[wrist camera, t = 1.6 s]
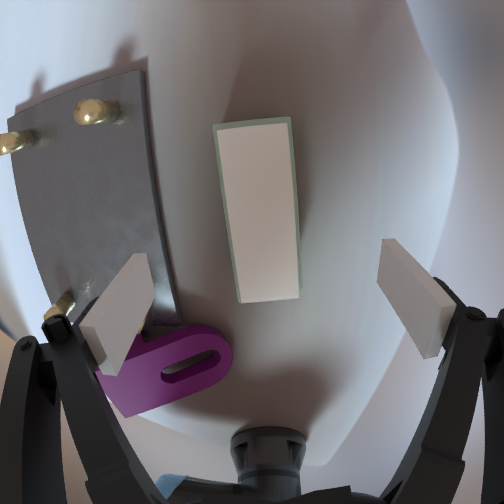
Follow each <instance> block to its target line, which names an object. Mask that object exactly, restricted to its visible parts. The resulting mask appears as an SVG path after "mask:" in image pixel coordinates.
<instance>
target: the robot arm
mask: <svg viewBox="0 0 504 504" xmlns="http://www.w3.org/2000/svg"><path fill="white" fill-rule="evenodd" d="M377 283H378V285H379V286H380V288H381V289H382V291H383V293H384V294H385V296H386V297H387V299H388V300H389V302H390V303H391V305H392V307H393V308H394V310H395V311H396V313H397V315H398V316H399V318H400V320H401V321H402V323H403V324H404V326H405V328H406V329H407V331H408V333H409V334H410V336H411V338H412V340H413V341H414V343H415V345H416V346H417V348H418V350H419V352H420V354H421V355H422V357H423V359H427V358H431V357H435V356H438V354H439V351H440V349H441V346H443V348H444V349H445V350H446V352H445V354H444V357H443V359H442V361H441V363H440V366H439V368H438V370H439V372H438V376H437V379H436V382H435V384H434V387H433V391H432V393H431V396H430V398H429V401H428V404H427V406H426V409H425V411H424V414H423V416H422V419H421V421H420V424H419V426H418V428H417V430H416V432H415V435H414V437H413V439H412V441H411V443H410V446H409V447H408V450H407V452H406V454H405V456H404V458H403V460H402V461H401V464H400V465H399V467H398V469H397V471H396V473H395V475H394V476H393V478H392V480H391V481H390V483H389V484H388V486H387V487H386V488H385V490H384V491H383V493H382V494H381V496H380V497H379V498H378V497H375V496H372V495H368V494H364V493H357V492H351V489H350V486H344V487H338V488H332V489H325V490H317V491H313V492H310V493H307V494H304V495H301V486H300V474H299V473H300V469H301V466H302V462H303V459H304V455H305V451H306V444H305V438H304V437H303V435H302V434H300V433H299V432H297V431H294V430H291V429H287V428H279V427H263V428H255V429H250V430H247V431H244V432H241V433H239V434H237V435H236V436H235V437H233V439H232V440H231V447H230V452H231V456H232V459H233V462H234V465H235V468H236V471H237V474H238V484H234V483H226V482H218V481H210V480H204V479H199V478H194V477H189V476H187V475H185V476H182V475H175V474H169V473H167V474H163V475H162V476H160V477H159V479H158V480H157V482H156V484H154V483H153V481H152V479H151V478H150V477H149V475H148V473H147V472H146V470H145V468H144V467H143V465H142V464H141V462H140V460H139V459H138V457H137V455H136V453H135V452H134V450H133V448H132V447H131V445H130V443H129V441H128V439H127V437H126V436H125V434H124V432H123V430H122V428H121V426H120V424H119V422H118V420H117V418H116V416H115V414H114V412H113V410H112V408H111V406H110V404H109V402H108V400H107V397H106V395H105V393H104V391H103V388H102V386H101V384H100V381H99V379H98V377H97V375H96V373H95V369H96V367H97V365H98V366H99V368H100V370H101V372H102V374H104V375H112V376H117V375H118V373H119V371H120V369H121V366H122V364H123V362H124V360H125V358H126V355H127V353H128V351H129V349H130V347H131V345H132V343H133V341H134V338H135V336H136V334H137V332H138V330H139V328H140V326H141V324H142V322H143V320H144V318H145V316H146V314H147V312H148V310H149V308H150V306H151V304H152V302H153V300H154V298H155V296H156V292H155V288H154V284H153V280H152V276H151V272H150V268H149V264H148V260H147V255H146V253H135V254H133V255H132V256H131V258H130V259H129V260H128V261H127V263H126V264H125V265H124V266H123V268H122V269H121V270H120V271H119V273H118V274H117V275H116V276H115V278H114V279H113V280H112V282H111V283H110V284H109V285H108V287H107V288H106V289H105V291H104V292H103V293H102V295H101V296H100V297H96V298H95V299H93V300H92V301H91V302H89V304H88V305H87V306H86V308H85V310H83V311H82V313H81V315H79V317H78V318H77V320H76V321H75V322H74V324H73V325H72V326H71V323H70V321H69V319H68V317H67V315H65V314H56V315H53V316H51V317H49V318H48V319H46V320H45V321H44V323H43V324H42V327H41V328H42V330H43V332H44V334H45V336H46V338H47V340H48V342H49V343H44V344H39V343H38V341H37V339H36V338H35V336H26V337H23V338H22V339H20V340H19V341H18V342H17V343H16V345H15V347H14V350H13V353H12V357H11V360H10V364H9V368H8V372H7V376H6V380H5V385H4V390H3V394H2V399H1V404H0V504H67V499H66V491H65V484H64V475H63V465H62V451H61V423H60V407H61V401H62V404H63V408H64V411H65V415H66V418H67V421H68V425H69V428H70V431H71V434H72V437H73V440H74V443H75V446H76V448H77V451H78V454H79V456H80V459H81V461H82V464H83V466H84V469H85V471H86V474H87V476H88V481H86V482H85V486H86V489H87V492H88V494H89V496H90V498H91V500H92V503H93V504H451V502H452V500H453V497H454V495H455V493H456V490H457V488H458V485H459V483H460V480H461V477H462V474H463V472H464V468H465V461H463V460H462V455H463V451H464V448H465V445H466V442H467V438H468V435H469V431H470V427H471V423H472V419H473V415H474V411H475V406H476V401H477V397H478V392H479V386H480V380H481V378H482V388H483V400H484V416H485V458H484V475H483V486H482V494H481V504H504V309H501V310H500V312H499V314H498V317H497V318H487V317H486V315H485V313H484V312H483V311H481V310H480V309H478V308H475V307H471V306H469V307H466V306H465V304H464V303H463V302H462V301H461V300H460V299H459V298H458V297H457V296H456V295H455V293H453V291H452V290H451V289H449V287H448V286H447V285H446V284H445V283H444V282H443V281H442V280H440V279H438V278H436V277H431V275H430V274H429V273H428V272H427V271H426V270H425V269H424V268H423V267H422V266H421V265H420V264H419V263H418V262H417V261H416V260H415V259H414V258H413V257H412V256H411V255H410V254H409V253H408V252H407V251H406V250H405V249H404V248H403V247H402V246H401V245H400V244H399V243H398V242H397V241H396V240H395V239H382V246H381V255H380V263H379V270H378V277H377Z"/></svg>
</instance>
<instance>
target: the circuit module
mask: <svg viewBox="0 0 504 504" xmlns="http://www.w3.org/2000/svg"><path fill="white" fill-rule="evenodd" d="M212 128H213V136H214V143H215V151H216V158H217V165H218V172H219V180H220V187H221V194H222V201H223V208H224V214H225V221H226V228H227V234H228V241H229V248H230V254H231V260H232V267H233V273H234V279H235V286H236V292H237V298H238V303H252V302H263V301H274V300H284V299H294V298H300V297H302V271H301V248H300V229H299V212H298V197H297V183H296V171H295V159H294V147H293V137H292V126H291V117H290V116H289V117H275V118H264V119H253V120H244V121H236V122H228V123H221V124H214V125H212Z"/></svg>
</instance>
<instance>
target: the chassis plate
mask: <svg viewBox="0 0 504 504" xmlns="http://www.w3.org/2000/svg"><path fill="white" fill-rule="evenodd" d="M7 124H8V133H4V134H0V155H4V154H8V153H11V160H12V167H13V173H14V179H15V185H16V190H17V195H18V199H19V204H20V208H21V212H22V217H23V221H24V224H25V228H26V232H27V235H28V239H29V242H30V246H31V249H32V252H33V255H34V258H35V261H36V264H37V267H38V270H39V273H40V276H41V279H42V281H43V284H44V287H45V289H46V292H47V294H48V297H49V299H50V302H51V304H52V307H51V308H50V309H49V310H48V311H47V312H46V314H45V315H44V320H46V319H48V318H49V317H51V316H53V315H56V314H65V315H67V317H68V319H69V321H70V322H75V321H76V320H77V318H78V317H79V315H81V313H82V311H83V310H85V308H86V306H87V305H88V304H89V302H91V301H92V300H93V299H95V298H96V297H100V296H101V295H102V293H103V292H104V291H105V289H106V288H107V287H108V285H109V284H110V283H111V282H112V280H113V279H114V278H115V276H116V275H117V274H118V273H119V271H120V270H121V269H122V268H123V266H124V265H125V264H126V263H127V261H128V260H129V259H130V258H131V256H132V255H133V254H135V253H146V255H147V260H148V264H149V268H150V272H151V276H152V280H153V284H154V288H155V292H156V296H155V298H154V300H153V302H152V304H151V306H150V308H149V310H148V312H147V314H146V316H145V318H144V320H143V322H142V324H141V326H140V328H139V330H138V332H137V334H139V333H140V332H141V330H142V328H143V326H180V323H181V321H182V317H181V312H180V308H179V304H178V300H177V295H176V291H175V286H174V282H173V277H172V272H171V268H170V263H169V258H168V253H167V247H166V242H165V237H164V231H163V226H162V220H161V214H160V208H159V202H158V195H157V189H156V182H155V175H154V167H153V160H152V152H151V143H150V134H149V124H148V114H147V102H146V88H145V72H144V71H142V70H135V71H131V72H127V73H124V74H120V75H117V76H113V77H110V78H106V79H103V80H100V81H97V82H94V83H91V84H88V85H85V86H82V87H79V88H77V89H74V90H71V91H69V92H66V93H63V94H61V95H58V96H56V97H53V98H51V99H49V100H46V101H44V102H42V103H40V104H37V105H35V106H33V107H31V108H29V109H27V110H24V111H22V112H20V113H18V114H16V115H14V116H12V117H11V118H9V119H7Z"/></svg>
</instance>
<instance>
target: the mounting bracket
mask: <svg viewBox="0 0 504 504" xmlns="http://www.w3.org/2000/svg"><path fill="white" fill-rule="evenodd" d="M206 350H216V351H215V353H214V355H213V356H212V357H210V358H208V359H206V360H204V361H201V362H199V363H197V364H194V365H192V366H189V367H187V368H185V369H182V370H180V371H177V372H175V373H172V374H165V373H163V372H162V370H163V369H164V368H165V367H167V366H170V365H172V364H175V363H177V362H180V361H182V360H185V359H187V358H190V357H192V356H194V355H197V354H199V353H202V352H204V351H206ZM232 360H233V354H232V350H231V347H230V346H229V344H228V343H227V341H226V340H225V338H224V337H223V335H222V334H221V333H220V332H219V331H217V330H216V329H214V328H212V327H209V326H204V325H193V326H188V327H185V328H182V329H180V330H177V331H175V332H172V333H170V334H167V335H165V336H162V337H160V338H157V339H155V340H152V341H150V342H146V341H145V339H144V337H143V336H142V334H141V332H140V333H139V334H136V336H135V338H134V341H133V343H132V345H131V347H130V349H129V351H128V353H127V355H126V358H125V360H124V362H123V364H122V366H121V369H120V371H119V373H118V375H117V376H112V375H104V374H102V372H101V370H100V368H99V366H98V365H97V367H96V369H95V373H96V375H97V377H98V379H99V381H100V384H101V386H102V388H103V391H104V392H105V394H106V395H107V396H108V398H109V399H110V400H111V401H112V403H113V404H114V405H115V406H116V408H117V409H118V410H119V411H120V413H121V414H122V415H123V416H124V417H125V418H128V417H131V416H134V415H137V414H140V413H143V412H145V411H148V410H151V409H154V408H157V407H159V406H162V405H165V404H167V403H170V402H173V401H175V400H178V399H180V398H183V397H185V396H188V395H190V394H193V393H195V392H198V391H200V390H202V389H205V388H207V387H210V386H212V385H214V384H215V383H217V382H218V381H220V380H221V379H222V378H223V377H224V376H225V375H226V374H227V372H228V371H229V369H230V367H231V364H232Z"/></svg>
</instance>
